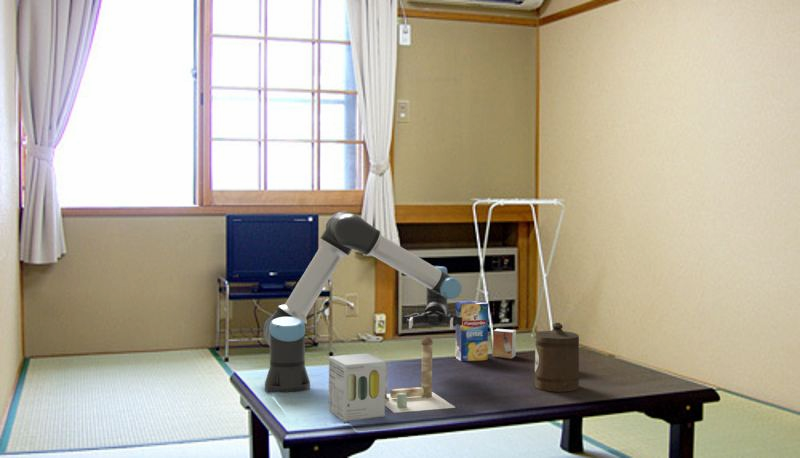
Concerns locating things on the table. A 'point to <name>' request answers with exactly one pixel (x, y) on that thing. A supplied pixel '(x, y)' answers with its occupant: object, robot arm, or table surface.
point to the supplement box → (356, 386)
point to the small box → (504, 343)
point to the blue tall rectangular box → (472, 331)
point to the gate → (426, 377)
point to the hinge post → (386, 383)
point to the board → (418, 404)
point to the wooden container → (557, 360)
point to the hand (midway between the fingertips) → (430, 324)
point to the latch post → (401, 400)
